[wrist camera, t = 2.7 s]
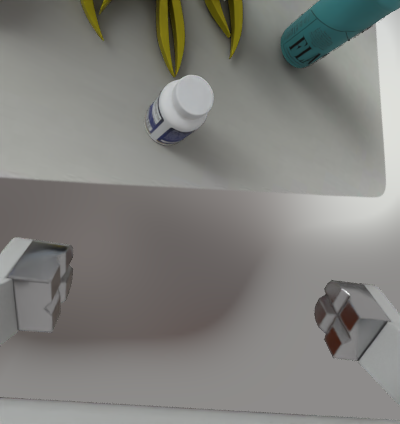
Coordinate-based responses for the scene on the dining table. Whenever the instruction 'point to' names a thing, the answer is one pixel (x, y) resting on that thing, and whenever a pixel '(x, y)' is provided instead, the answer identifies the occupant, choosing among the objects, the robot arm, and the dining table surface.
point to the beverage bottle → (330, 27)
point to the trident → (179, 25)
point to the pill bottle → (179, 109)
